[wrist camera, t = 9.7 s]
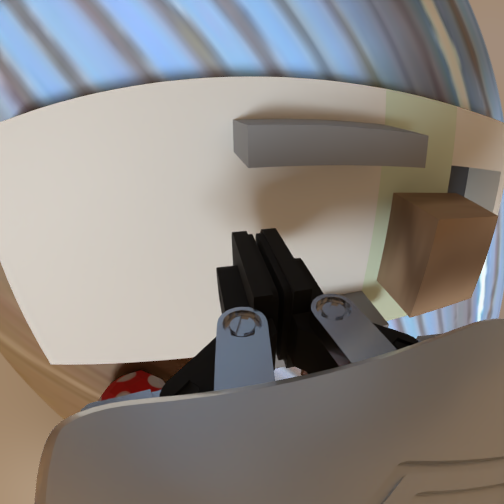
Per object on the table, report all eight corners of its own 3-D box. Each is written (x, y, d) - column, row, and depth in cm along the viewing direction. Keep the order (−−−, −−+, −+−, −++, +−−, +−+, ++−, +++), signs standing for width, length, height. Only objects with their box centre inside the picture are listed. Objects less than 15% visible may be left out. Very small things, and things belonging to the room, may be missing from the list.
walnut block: (393, 192, 16) (438, 219, 12) (456, 193, 17) (498, 216, 13) (376, 280, 19) (409, 317, 15) (437, 268, 20) (470, 297, 16)
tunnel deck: (5, 125, 13) (-71, 150, 6) (478, 117, 19) (545, 137, 12) (63, 328, 20) (39, 402, 14) (447, 273, 26) (494, 315, 20)
